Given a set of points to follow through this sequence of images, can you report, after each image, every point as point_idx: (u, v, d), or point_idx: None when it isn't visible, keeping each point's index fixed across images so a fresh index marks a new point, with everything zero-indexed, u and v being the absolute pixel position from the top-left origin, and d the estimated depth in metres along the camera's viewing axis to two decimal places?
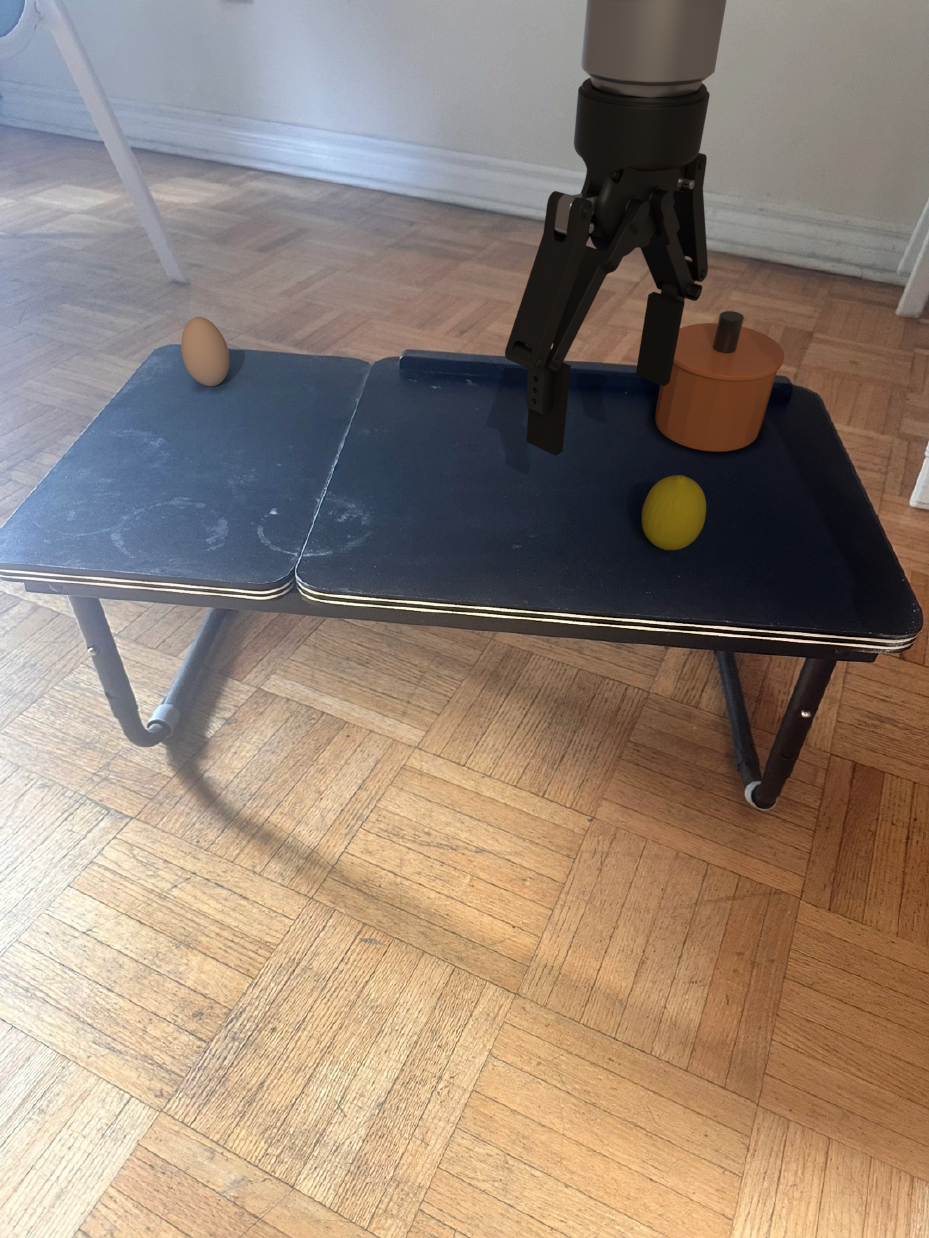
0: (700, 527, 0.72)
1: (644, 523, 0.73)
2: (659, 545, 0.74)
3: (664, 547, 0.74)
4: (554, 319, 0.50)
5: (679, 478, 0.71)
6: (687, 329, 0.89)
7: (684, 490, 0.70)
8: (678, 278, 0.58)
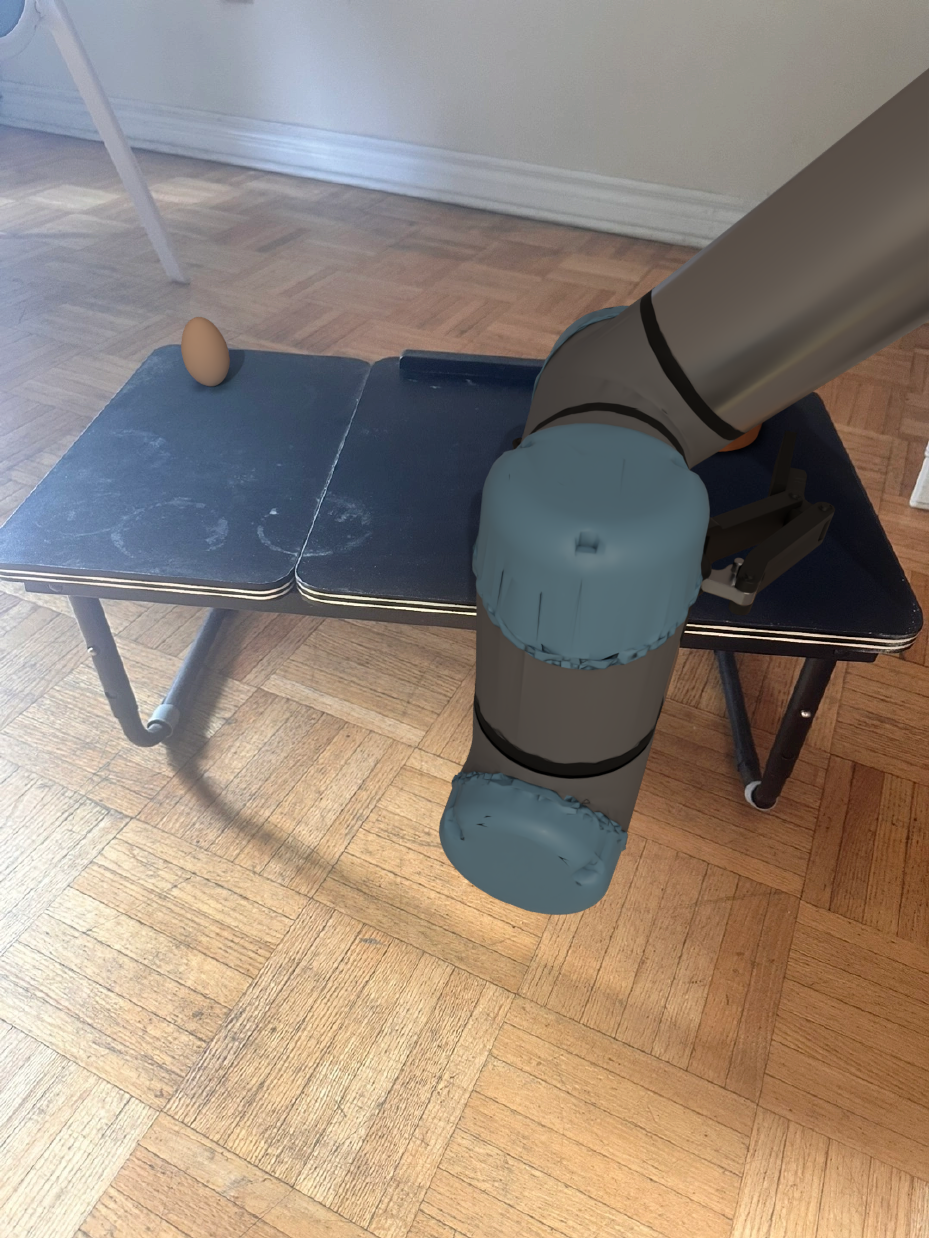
0: None
1: None
2: None
3: None
4: (801, 526, 0.47)
5: None
6: None
7: None
8: None
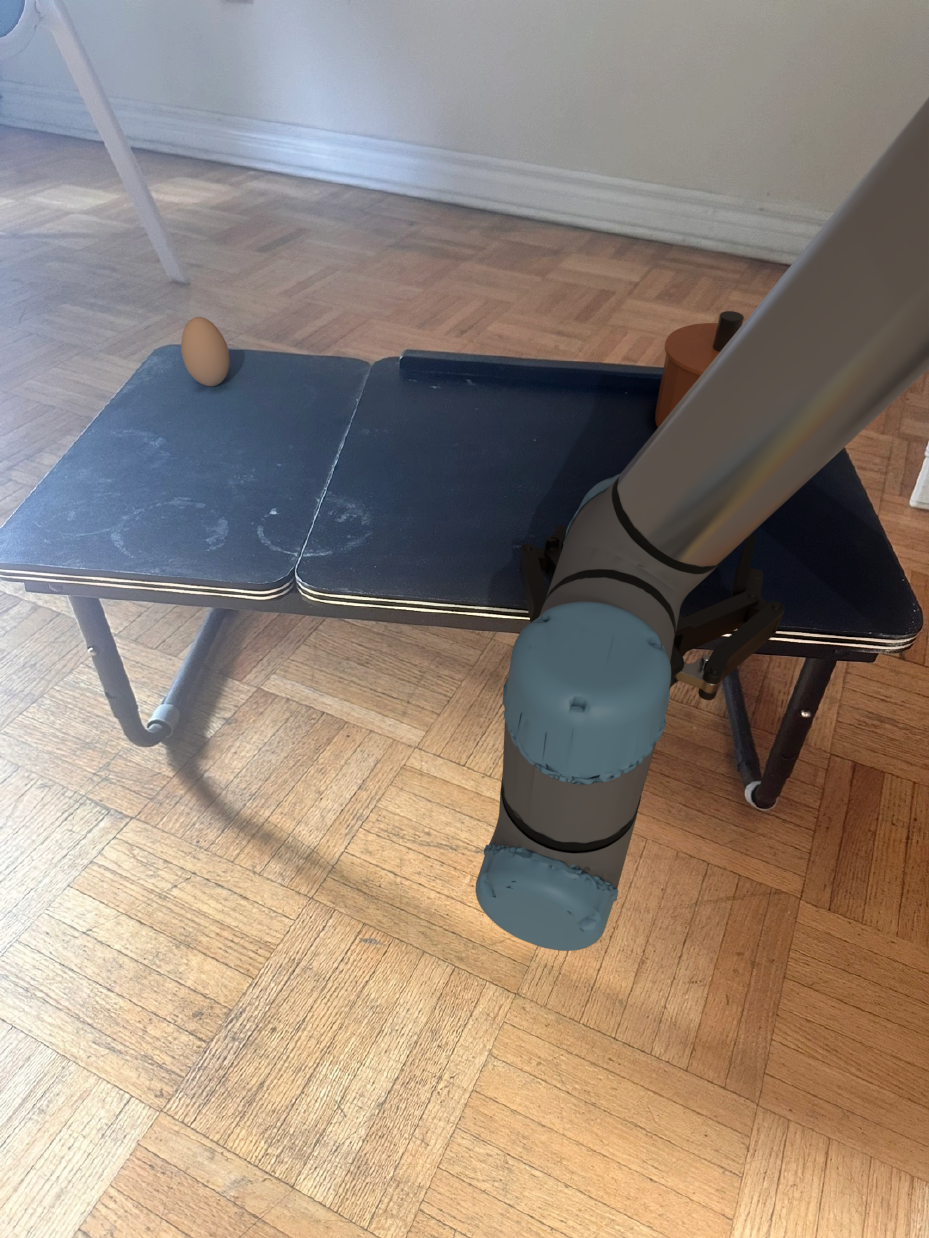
0: None
1: None
2: None
3: None
4: (757, 624, 0.59)
5: None
6: (687, 329, 0.89)
7: None
8: None
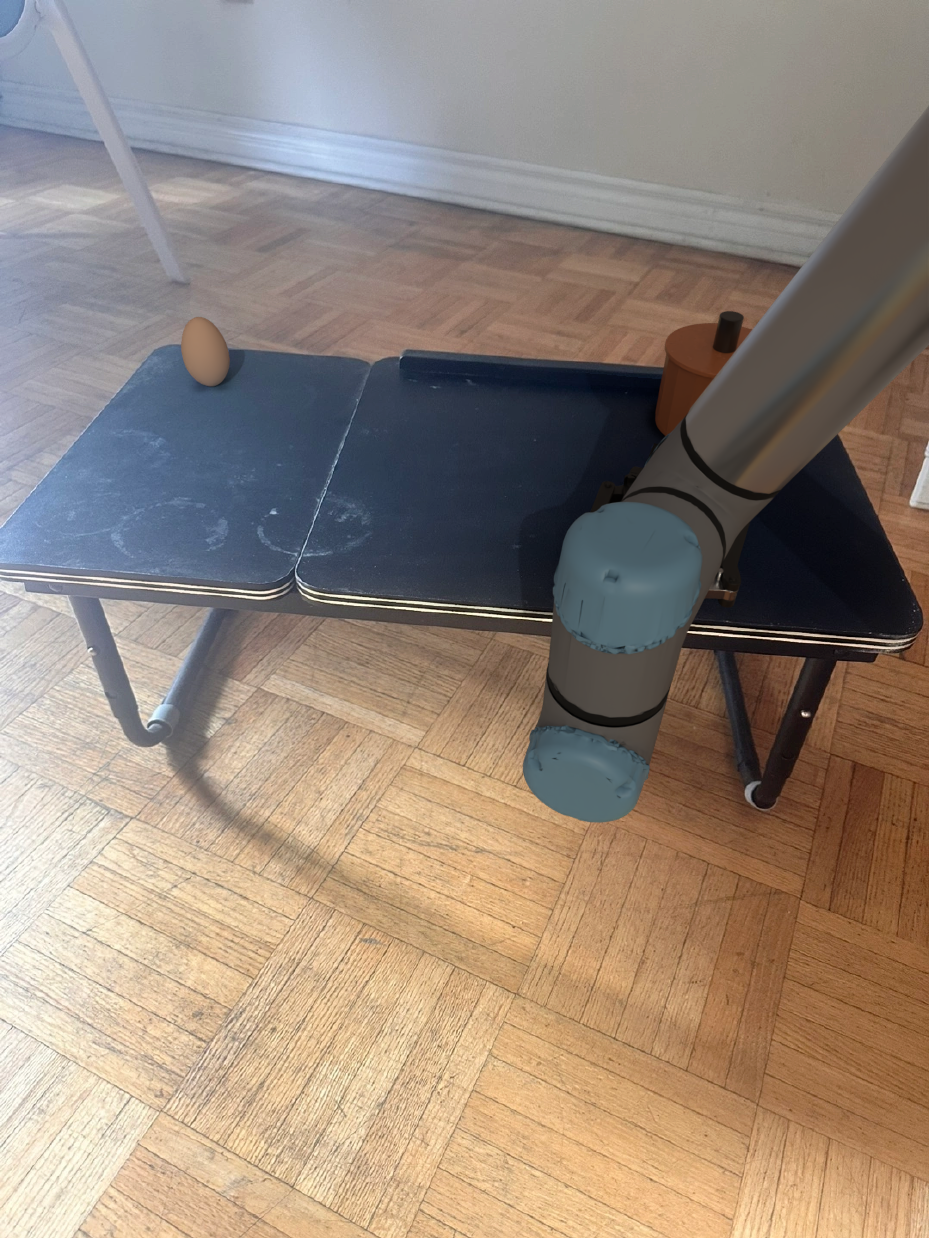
0: None
1: None
2: None
3: None
4: (740, 532, 0.66)
5: None
6: (687, 329, 0.89)
7: None
8: None
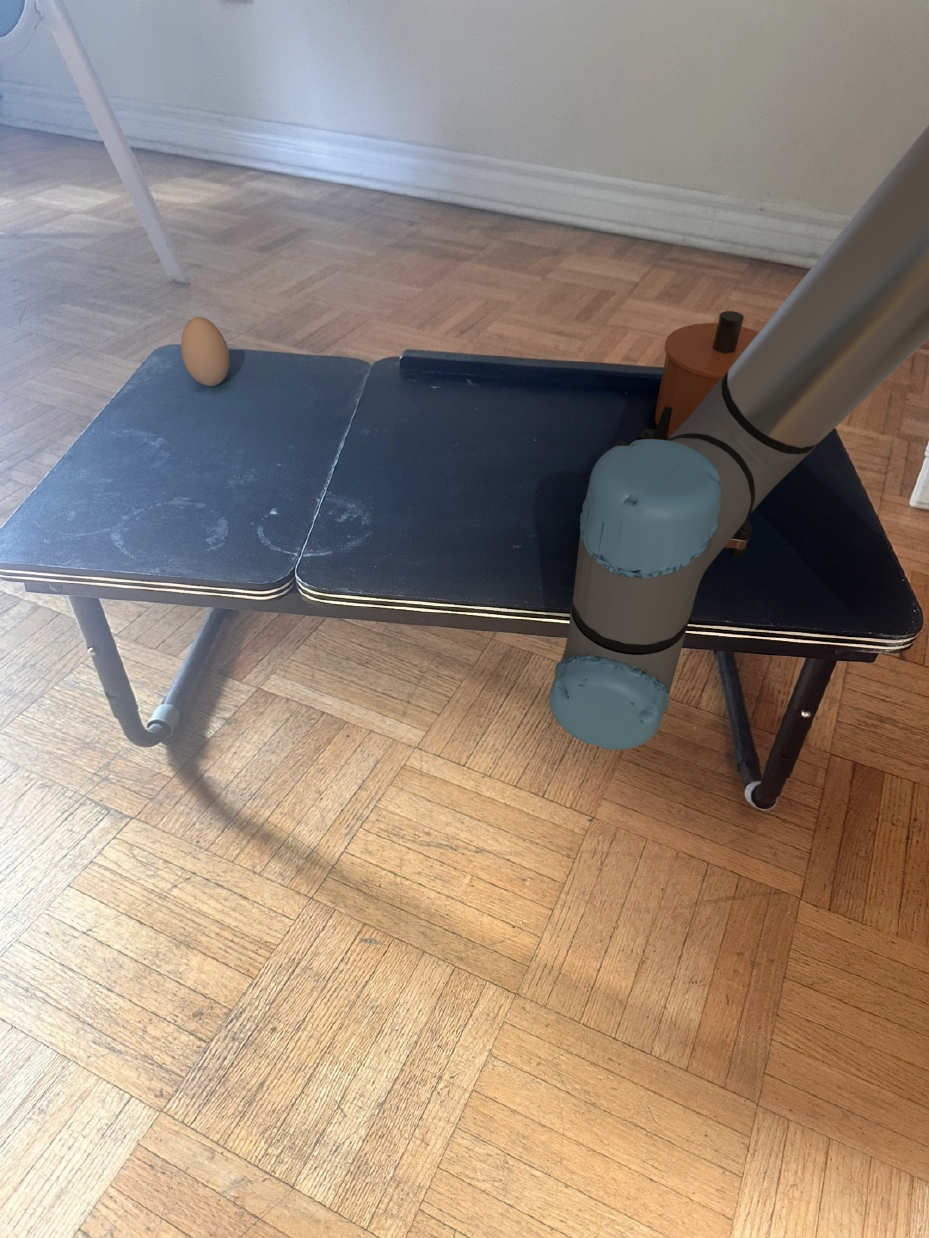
0: None
1: None
2: None
3: None
4: None
5: None
6: (687, 329, 0.89)
7: None
8: None
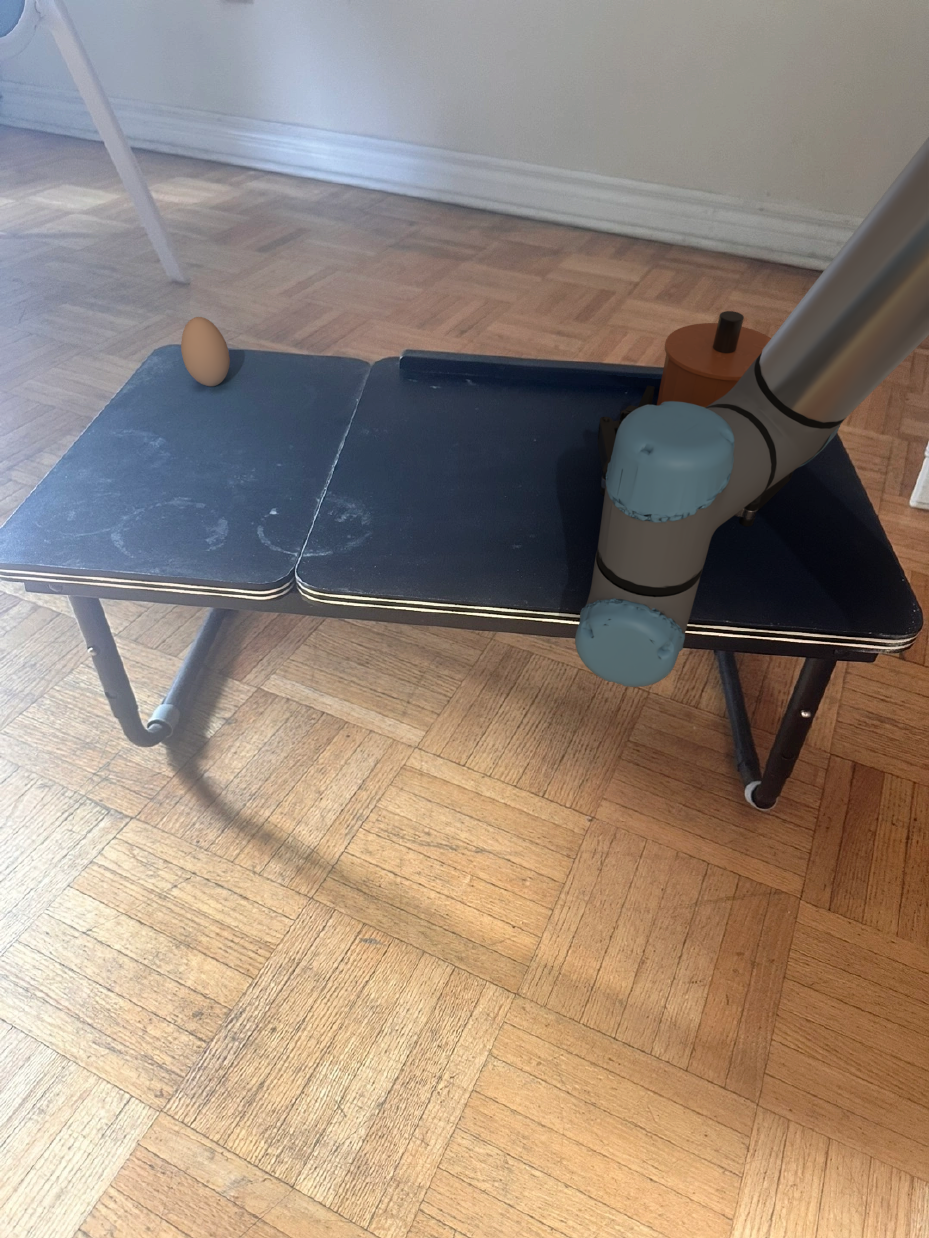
0: None
1: None
2: None
3: None
4: None
5: None
6: (687, 329, 0.89)
7: None
8: None
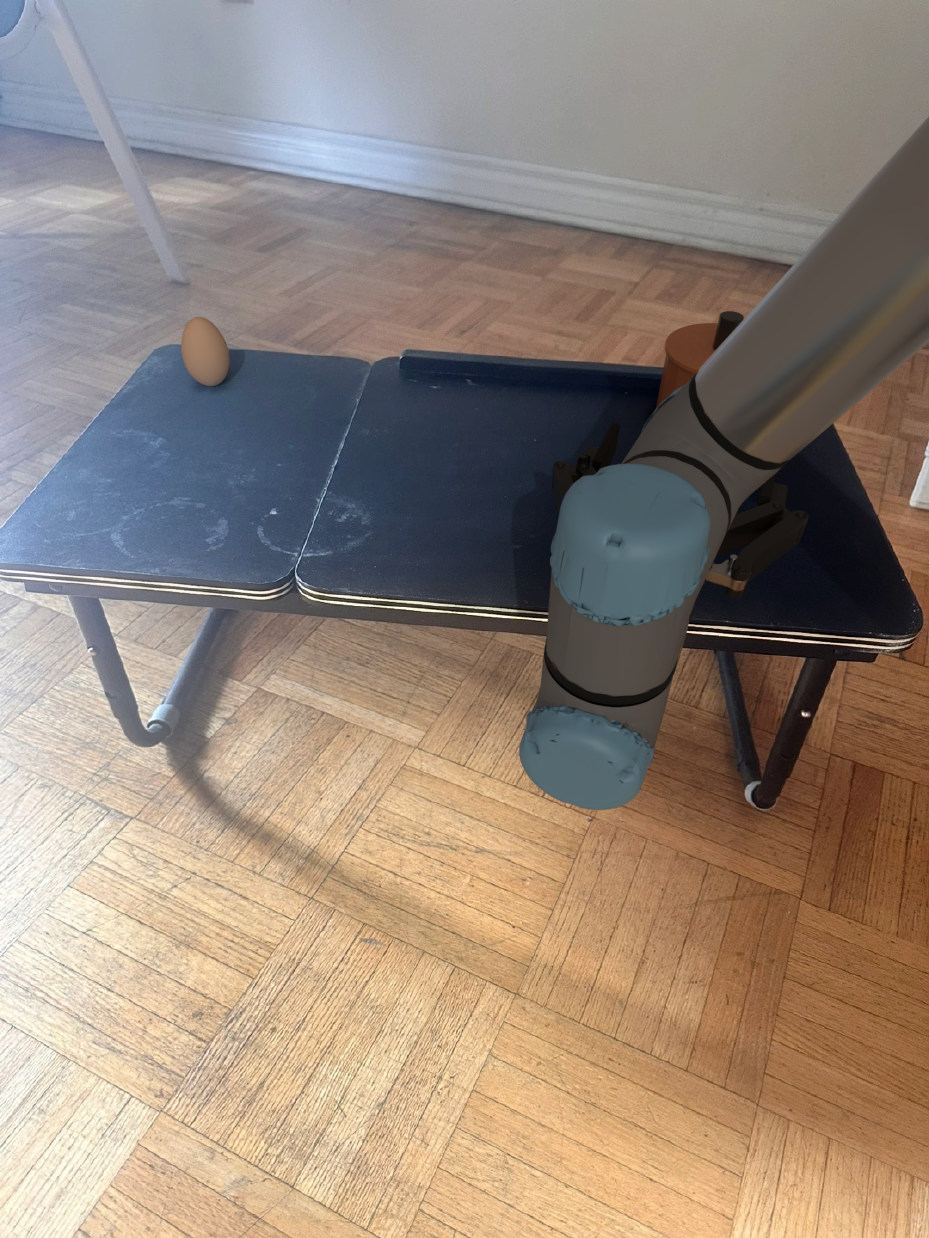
0: None
1: None
2: None
3: None
4: (782, 529, 0.61)
5: None
6: (687, 329, 0.89)
7: None
8: None
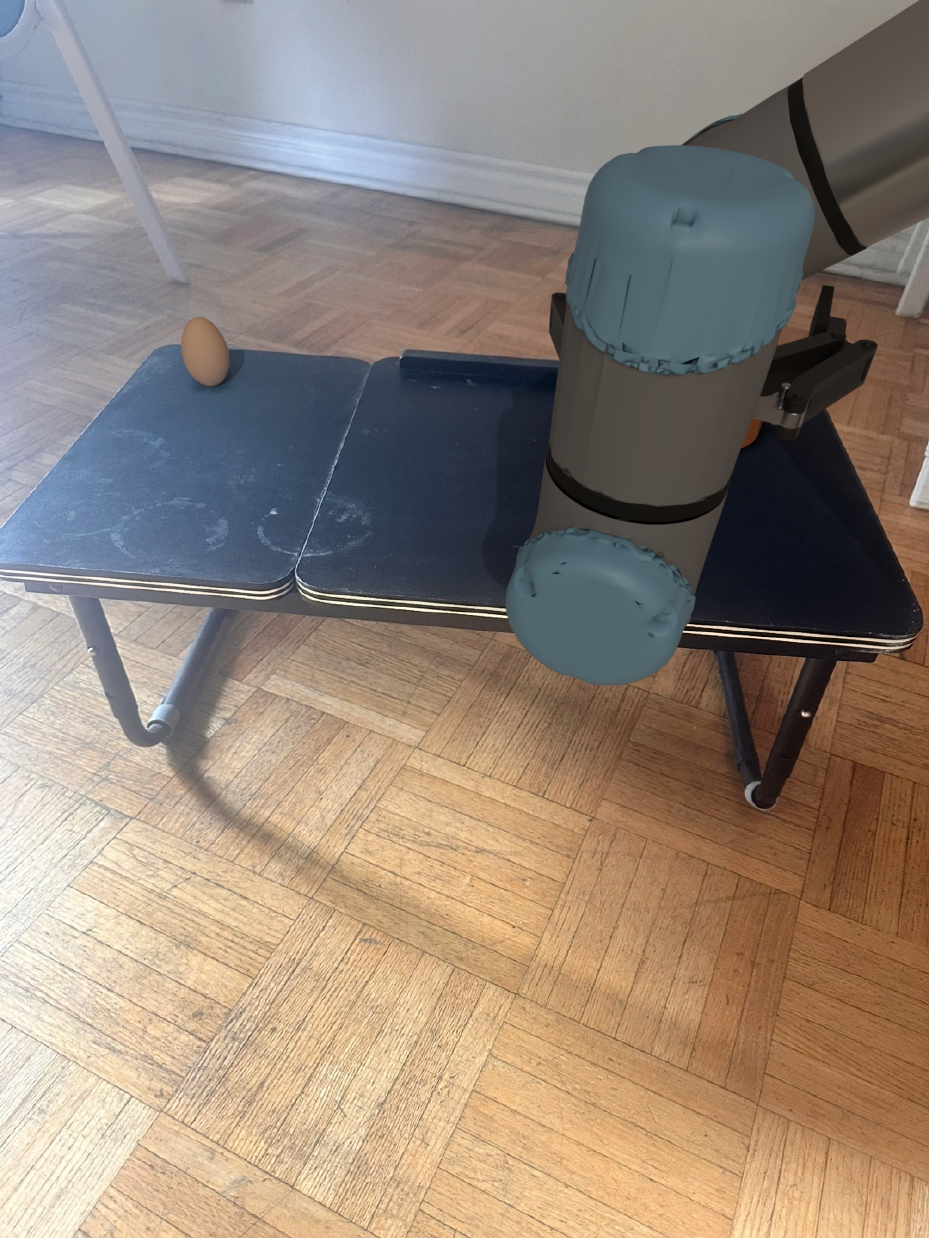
0: None
1: None
2: None
3: None
4: (846, 358, 0.48)
5: None
6: None
7: None
8: None
